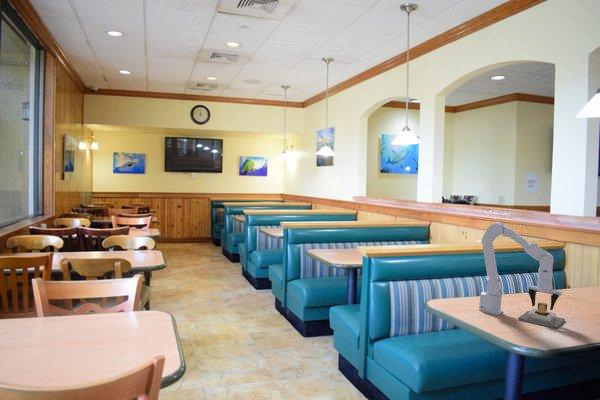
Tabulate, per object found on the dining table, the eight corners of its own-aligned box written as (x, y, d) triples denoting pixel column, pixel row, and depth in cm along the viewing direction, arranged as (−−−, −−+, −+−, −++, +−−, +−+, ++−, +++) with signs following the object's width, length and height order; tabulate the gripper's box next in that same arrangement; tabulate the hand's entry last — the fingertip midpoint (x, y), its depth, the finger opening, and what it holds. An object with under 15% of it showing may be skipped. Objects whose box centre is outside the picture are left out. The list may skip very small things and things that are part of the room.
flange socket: (518, 319, 213) (518, 312, 212) (528, 312, 225) (528, 305, 224) (556, 328, 202) (557, 321, 202) (564, 320, 214) (565, 313, 214)
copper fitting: (535, 318, 213) (536, 303, 213) (538, 316, 216) (539, 301, 215) (544, 320, 210) (545, 305, 210) (547, 318, 213) (548, 303, 212)
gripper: (525, 277, 214) (523, 305, 215) (560, 283, 204) (557, 313, 205) (529, 275, 219) (527, 302, 220) (563, 281, 209) (561, 310, 210)
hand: (542, 307), depth 213 cm, fingers open, 7 cm apart
